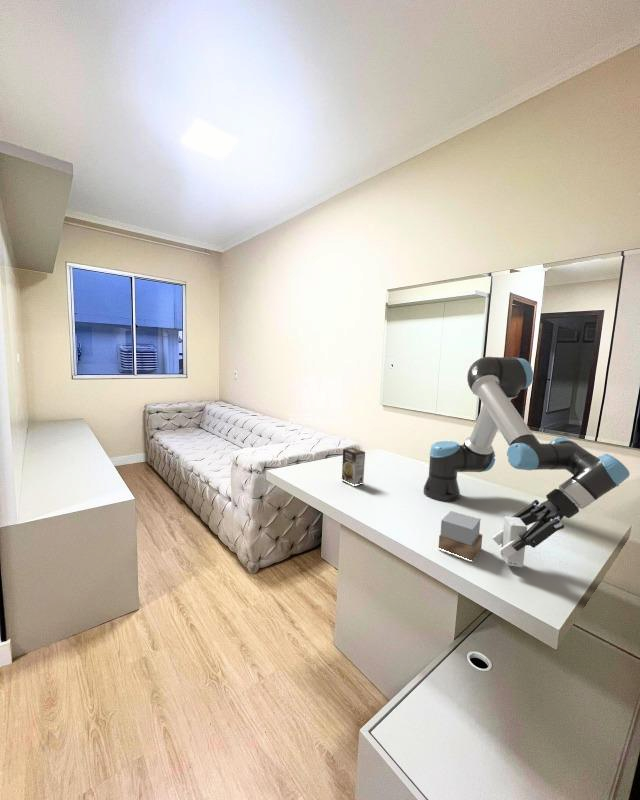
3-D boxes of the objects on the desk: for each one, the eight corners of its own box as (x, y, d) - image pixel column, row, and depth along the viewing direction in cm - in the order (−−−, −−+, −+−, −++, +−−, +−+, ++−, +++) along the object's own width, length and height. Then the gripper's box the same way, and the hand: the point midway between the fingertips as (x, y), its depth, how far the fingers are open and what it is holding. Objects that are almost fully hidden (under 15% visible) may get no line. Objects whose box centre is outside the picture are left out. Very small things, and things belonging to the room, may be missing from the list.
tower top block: (440, 535, 105) (441, 520, 105) (449, 525, 112) (450, 510, 112) (471, 545, 100) (472, 529, 99) (479, 534, 107) (480, 519, 106)
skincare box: (523, 568, 95) (528, 527, 94) (506, 565, 96) (511, 525, 95) (515, 555, 101) (519, 517, 100) (500, 553, 102) (503, 515, 100)
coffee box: (341, 481, 164) (342, 448, 163) (351, 479, 168) (352, 447, 166) (353, 487, 157) (355, 453, 155) (364, 484, 161) (365, 451, 159)
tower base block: (438, 551, 106) (439, 535, 105) (448, 538, 114) (449, 524, 113) (472, 563, 100) (473, 547, 99) (481, 549, 107) (482, 534, 107)
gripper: (599, 525, 84) (521, 577, 89) (560, 495, 103) (497, 540, 108) (578, 502, 85) (501, 555, 90) (543, 477, 103) (480, 522, 108)
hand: (499, 547), depth 99 cm, fingers closed on skincare box, 6 cm apart
